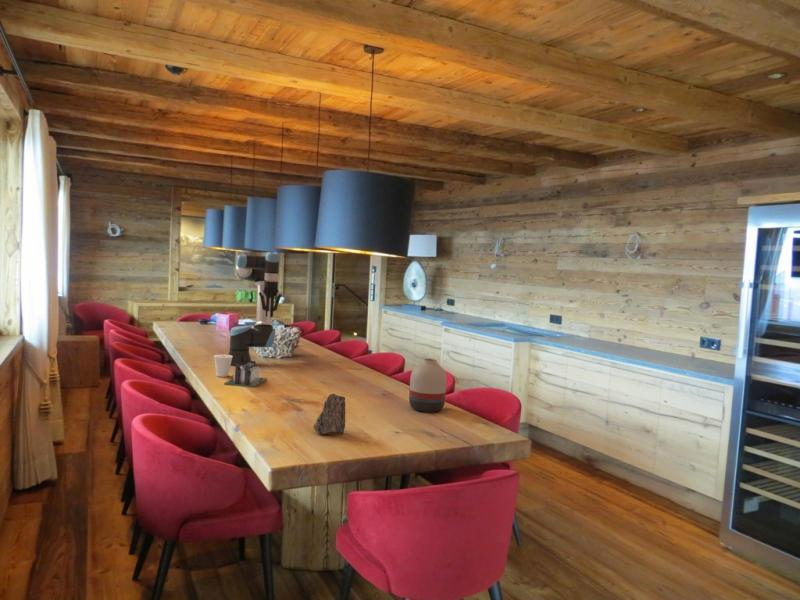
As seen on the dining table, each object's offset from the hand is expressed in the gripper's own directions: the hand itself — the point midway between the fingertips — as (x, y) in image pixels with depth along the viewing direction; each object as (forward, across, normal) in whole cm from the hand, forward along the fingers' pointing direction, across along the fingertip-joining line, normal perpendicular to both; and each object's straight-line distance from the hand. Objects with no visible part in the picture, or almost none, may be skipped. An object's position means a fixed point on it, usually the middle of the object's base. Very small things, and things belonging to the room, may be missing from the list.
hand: (268, 322), depth 321 cm
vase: (+29, +93, -46) cm, 108 cm away
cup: (+30, -20, -13) cm, 38 cm away
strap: (+22, -3, -23) cm, 31 cm away
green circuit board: (+30, -3, -22) cm, 37 cm away
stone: (+29, +58, -97) cm, 116 cm away
